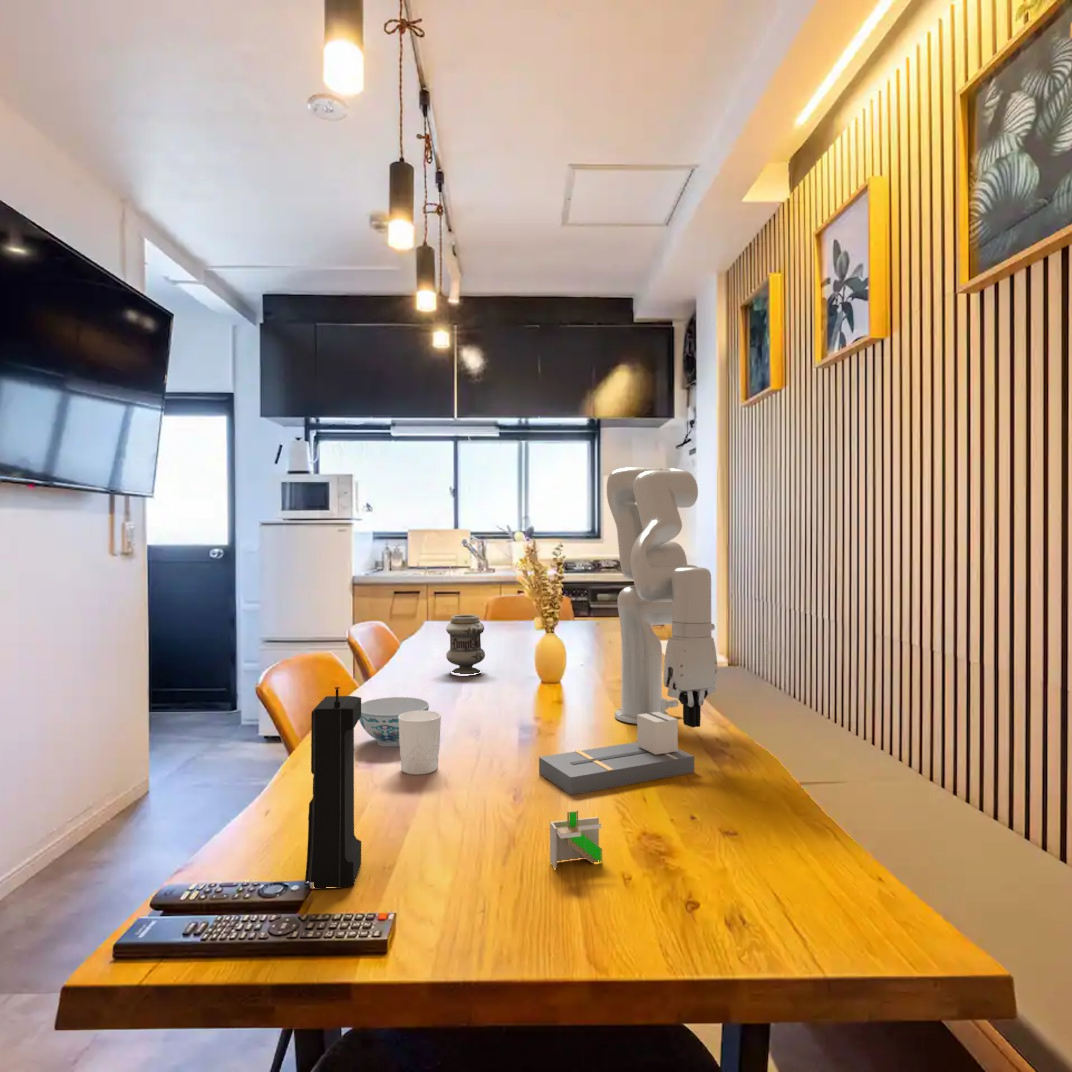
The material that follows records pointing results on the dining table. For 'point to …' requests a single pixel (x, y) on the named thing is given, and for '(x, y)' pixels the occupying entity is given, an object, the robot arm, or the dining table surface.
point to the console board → (612, 767)
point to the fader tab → (657, 733)
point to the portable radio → (333, 794)
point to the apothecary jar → (465, 643)
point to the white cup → (419, 741)
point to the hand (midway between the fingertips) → (691, 725)
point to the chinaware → (387, 717)
